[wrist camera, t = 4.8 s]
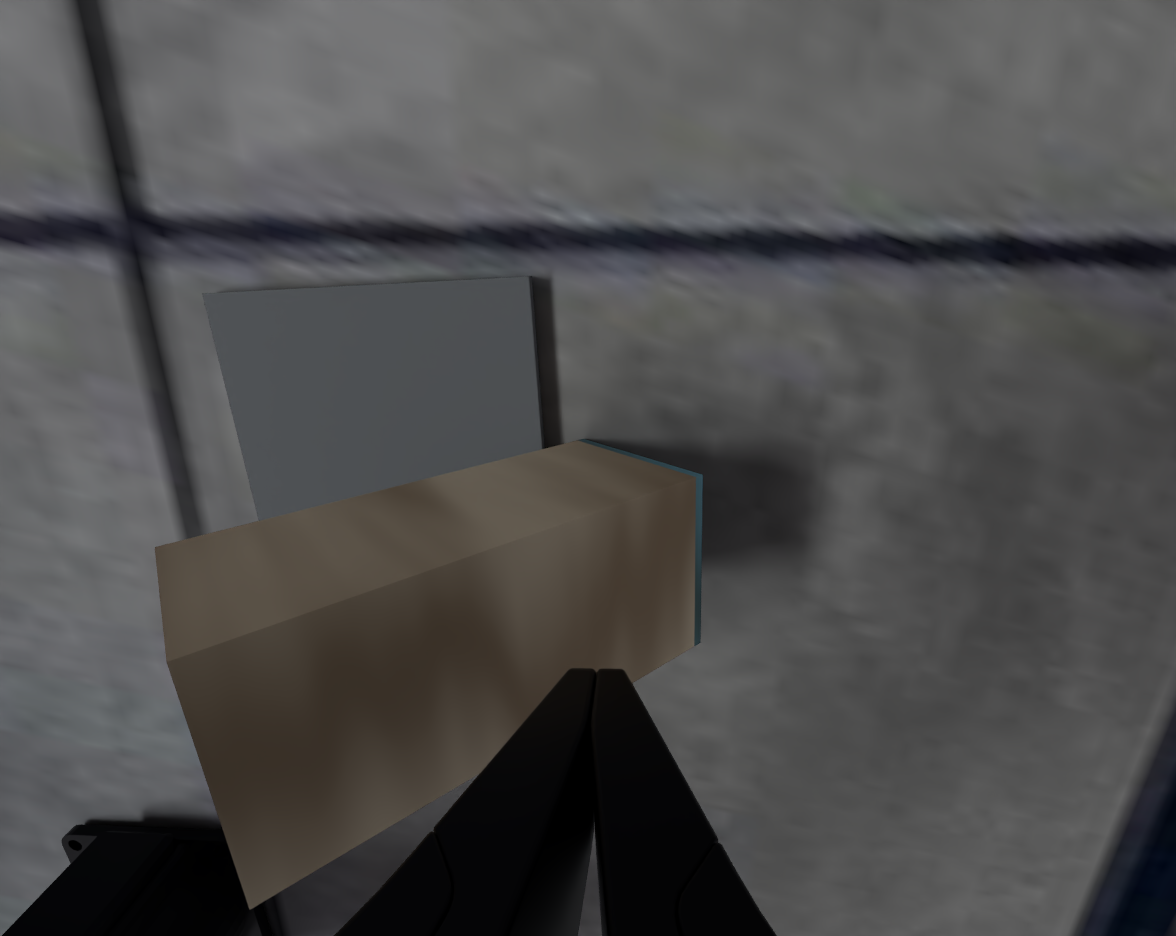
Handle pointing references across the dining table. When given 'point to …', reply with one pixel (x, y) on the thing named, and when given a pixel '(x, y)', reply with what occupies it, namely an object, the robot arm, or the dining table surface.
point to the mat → (376, 384)
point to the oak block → (414, 636)
